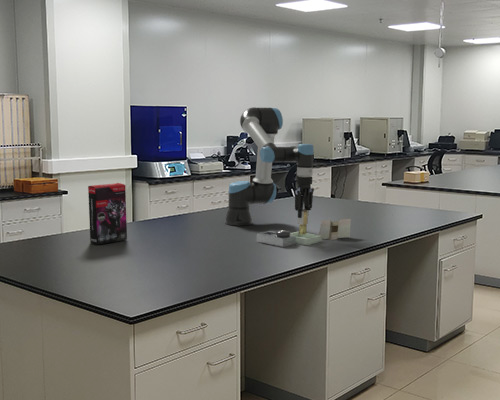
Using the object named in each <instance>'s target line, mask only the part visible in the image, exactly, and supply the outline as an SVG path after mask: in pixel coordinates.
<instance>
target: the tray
mask: <svg viewBox="0 0 500 400" xmlns="http://www.w3.org/2000/svg"><path fill="white" fill-rule="evenodd" d="M290 235H295V236H296V241H295V244H297V245H301V246H302V245H303V246H311V245H314V244H318V243H321V242H322V239H321V236H320V235H319V234H316V233H315V234H314V233H308V232H306V234H305V235H301V234H299V231H295V232H290Z"/></svg>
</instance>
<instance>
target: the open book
mask: <svg viewBox="0 0 500 400" xmlns="http://www.w3.org/2000/svg"><path fill="white" fill-rule="evenodd" d="M320 221H321V222H320V227H319V232H318V235H320V236H321V240H327V239H328V240H329V241H330V240H332V241H333V240H338V239H341V238H342V239H343V238H351V223H352V222H351V221H352V219H351V218H343V219H341V218H340V219H339V220H337V221H332V220H331V219H326V220H325V219H324V220H320Z"/></svg>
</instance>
